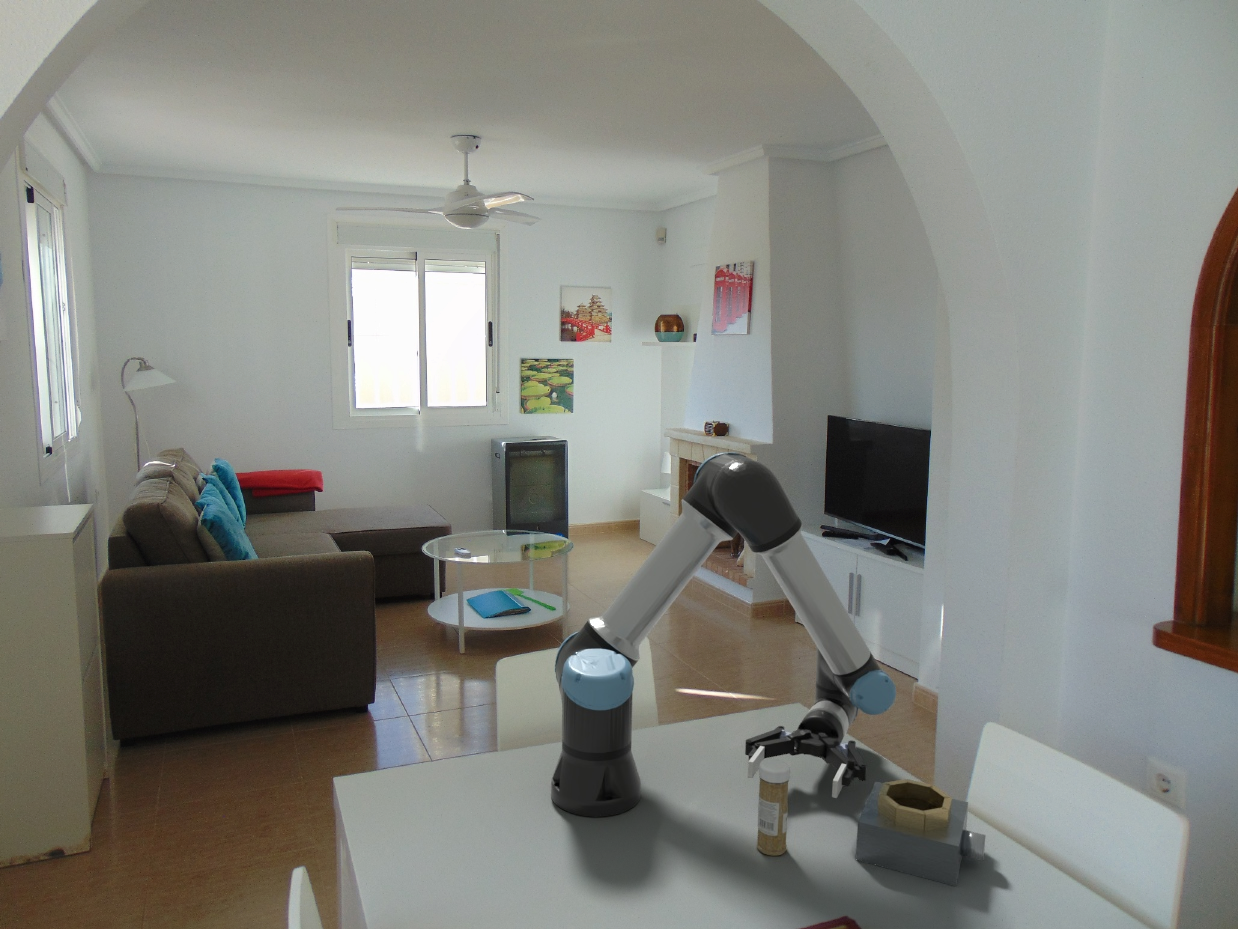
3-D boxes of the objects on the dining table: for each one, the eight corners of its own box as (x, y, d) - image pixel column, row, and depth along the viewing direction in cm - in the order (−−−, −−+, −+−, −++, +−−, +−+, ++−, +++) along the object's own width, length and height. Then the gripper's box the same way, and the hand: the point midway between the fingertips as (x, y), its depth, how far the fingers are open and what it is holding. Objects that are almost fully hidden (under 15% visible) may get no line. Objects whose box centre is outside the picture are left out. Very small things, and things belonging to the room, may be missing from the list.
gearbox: (855, 859, 131) (858, 805, 130) (873, 816, 144) (876, 766, 143) (978, 892, 124) (983, 835, 123) (986, 843, 136) (990, 791, 135)
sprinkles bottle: (792, 851, 133) (796, 766, 132) (770, 860, 131) (774, 774, 129) (771, 837, 137) (775, 754, 135) (749, 845, 135) (752, 761, 133)
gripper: (893, 764, 154) (870, 821, 135) (755, 735, 165) (716, 784, 146) (895, 723, 153) (873, 774, 134) (756, 696, 164) (717, 740, 145)
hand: (791, 779), depth 140 cm, fingers open, 13 cm apart
